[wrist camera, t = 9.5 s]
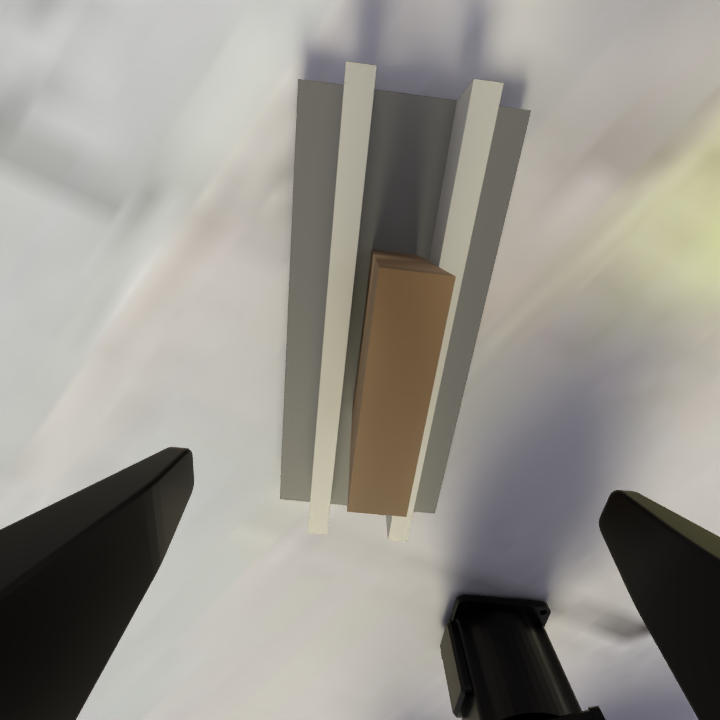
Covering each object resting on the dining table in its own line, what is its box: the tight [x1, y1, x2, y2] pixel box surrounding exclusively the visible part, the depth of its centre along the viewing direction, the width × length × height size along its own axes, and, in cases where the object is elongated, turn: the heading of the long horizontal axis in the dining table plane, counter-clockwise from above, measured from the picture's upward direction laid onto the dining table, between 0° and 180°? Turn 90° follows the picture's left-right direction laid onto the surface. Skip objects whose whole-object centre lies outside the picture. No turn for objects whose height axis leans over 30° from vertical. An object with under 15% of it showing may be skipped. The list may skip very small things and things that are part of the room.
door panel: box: [347, 250, 456, 517], centre depth 14 cm, size 2×8×7 cm, turn 174°
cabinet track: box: [280, 61, 531, 542], centre depth 17 cm, size 9×20×3 cm, turn 174°
